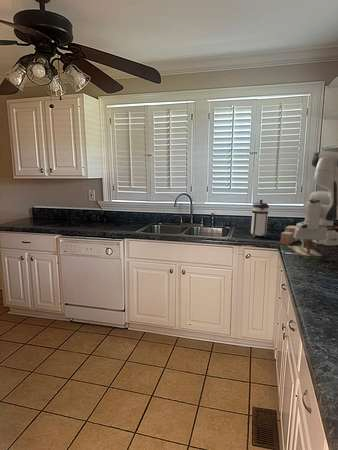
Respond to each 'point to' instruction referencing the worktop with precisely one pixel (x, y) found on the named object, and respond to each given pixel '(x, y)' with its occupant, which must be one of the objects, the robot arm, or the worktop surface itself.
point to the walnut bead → (309, 245)
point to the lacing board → (305, 252)
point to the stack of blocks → (288, 235)
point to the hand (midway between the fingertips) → (309, 246)
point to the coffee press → (259, 219)
